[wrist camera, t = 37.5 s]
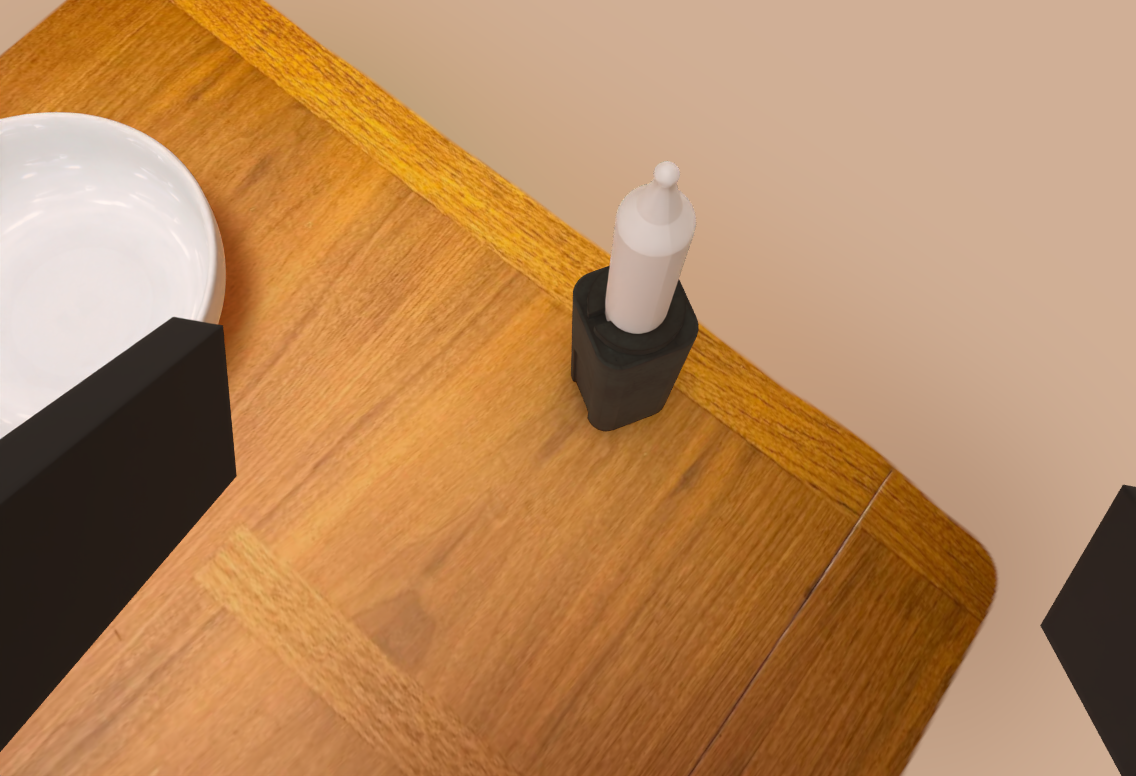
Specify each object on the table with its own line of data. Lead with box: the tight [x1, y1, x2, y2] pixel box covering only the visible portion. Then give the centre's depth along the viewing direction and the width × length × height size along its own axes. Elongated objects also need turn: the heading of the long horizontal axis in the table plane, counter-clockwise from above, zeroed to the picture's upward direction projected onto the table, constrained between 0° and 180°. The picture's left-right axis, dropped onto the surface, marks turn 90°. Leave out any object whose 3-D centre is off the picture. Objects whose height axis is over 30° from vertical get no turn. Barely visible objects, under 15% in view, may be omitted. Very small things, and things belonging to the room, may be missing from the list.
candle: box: [571, 161, 698, 431], centre depth 37 cm, size 5×5×25 cm
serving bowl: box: [0, 112, 226, 439], centre depth 47 cm, size 21×21×7 cm
